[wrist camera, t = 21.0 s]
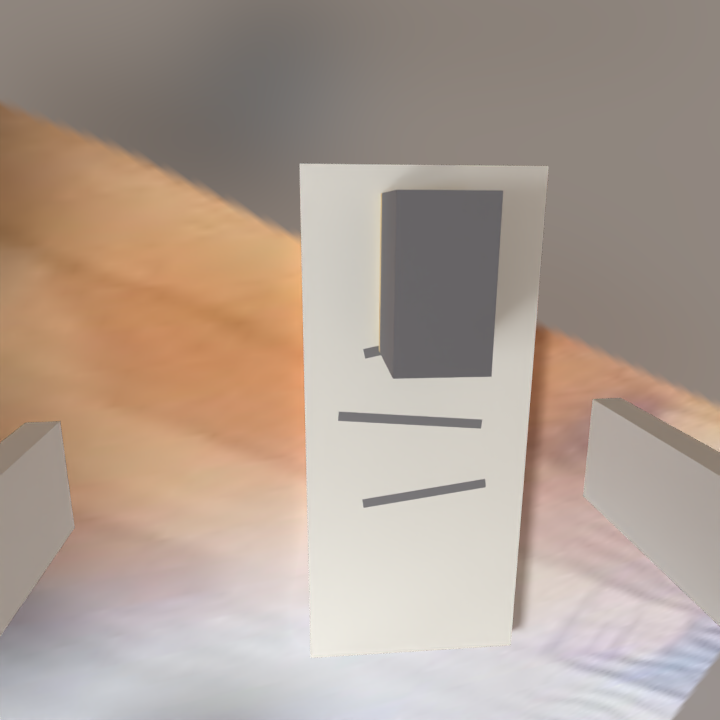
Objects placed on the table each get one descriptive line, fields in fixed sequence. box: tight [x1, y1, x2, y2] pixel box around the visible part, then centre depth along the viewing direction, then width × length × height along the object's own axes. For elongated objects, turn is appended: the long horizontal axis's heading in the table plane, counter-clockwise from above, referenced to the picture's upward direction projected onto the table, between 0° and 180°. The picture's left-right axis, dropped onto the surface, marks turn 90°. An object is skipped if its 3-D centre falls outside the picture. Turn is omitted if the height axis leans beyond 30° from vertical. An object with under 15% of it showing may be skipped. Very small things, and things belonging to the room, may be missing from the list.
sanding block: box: [379, 190, 503, 379], centre depth 31 cm, size 5×9×6 cm, turn 0°
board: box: [300, 164, 549, 658], centre depth 37 cm, size 14×32×1 cm, turn 0°
